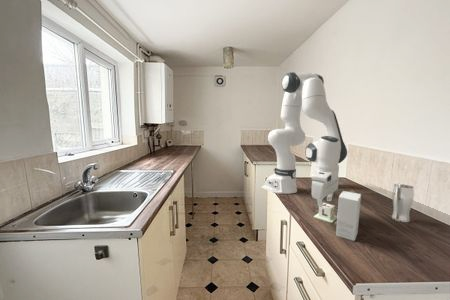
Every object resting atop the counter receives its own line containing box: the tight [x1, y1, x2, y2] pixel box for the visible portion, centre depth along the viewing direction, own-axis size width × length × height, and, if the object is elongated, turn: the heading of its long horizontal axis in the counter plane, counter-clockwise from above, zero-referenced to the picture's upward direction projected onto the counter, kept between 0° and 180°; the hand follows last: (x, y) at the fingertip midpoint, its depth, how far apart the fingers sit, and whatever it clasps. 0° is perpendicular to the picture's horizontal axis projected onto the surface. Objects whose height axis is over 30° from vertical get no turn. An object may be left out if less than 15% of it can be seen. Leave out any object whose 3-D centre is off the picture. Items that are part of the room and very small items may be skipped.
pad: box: [313, 212, 337, 224], centre depth 96 cm, size 8×8×1 cm
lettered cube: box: [318, 202, 336, 220], centre depth 95 cm, size 5×5×5 cm
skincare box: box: [335, 190, 362, 242], centre depth 80 cm, size 8×7×16 cm
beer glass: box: [391, 183, 415, 223], centre depth 92 cm, size 7×7×15 cm
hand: (324, 203), depth 96 cm, fingers open, 8 cm apart
